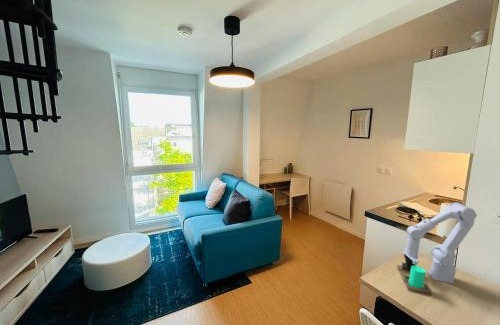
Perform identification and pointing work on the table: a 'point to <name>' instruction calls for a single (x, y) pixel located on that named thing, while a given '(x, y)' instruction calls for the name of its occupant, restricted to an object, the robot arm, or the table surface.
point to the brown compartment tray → (406, 275)
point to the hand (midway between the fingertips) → (409, 268)
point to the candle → (417, 277)
